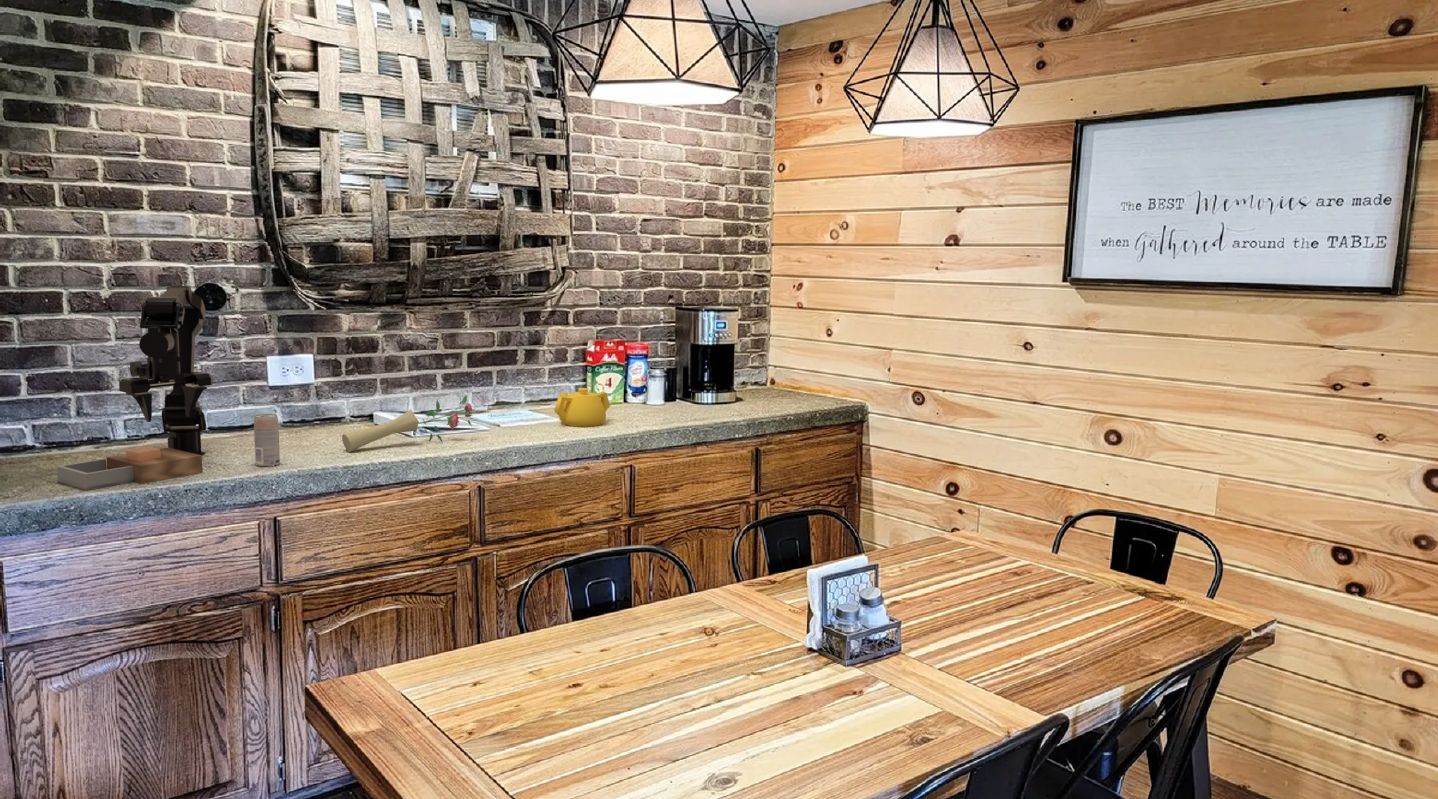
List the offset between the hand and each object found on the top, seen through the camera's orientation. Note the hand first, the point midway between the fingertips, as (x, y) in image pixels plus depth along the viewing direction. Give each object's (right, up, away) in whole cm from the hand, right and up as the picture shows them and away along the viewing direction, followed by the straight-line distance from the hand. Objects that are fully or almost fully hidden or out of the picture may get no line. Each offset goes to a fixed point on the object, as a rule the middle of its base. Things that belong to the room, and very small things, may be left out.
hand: (168, 419), depth 233 cm
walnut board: (-2, -12, -2) cm, 13 cm away
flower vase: (+44, -8, +38) cm, 59 cm away
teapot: (+84, -3, +79) cm, 115 cm away
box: (-10, -14, -11) cm, 20 cm away
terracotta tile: (-3, -9, -5) cm, 10 cm away
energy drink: (+18, -11, +10) cm, 24 cm away
